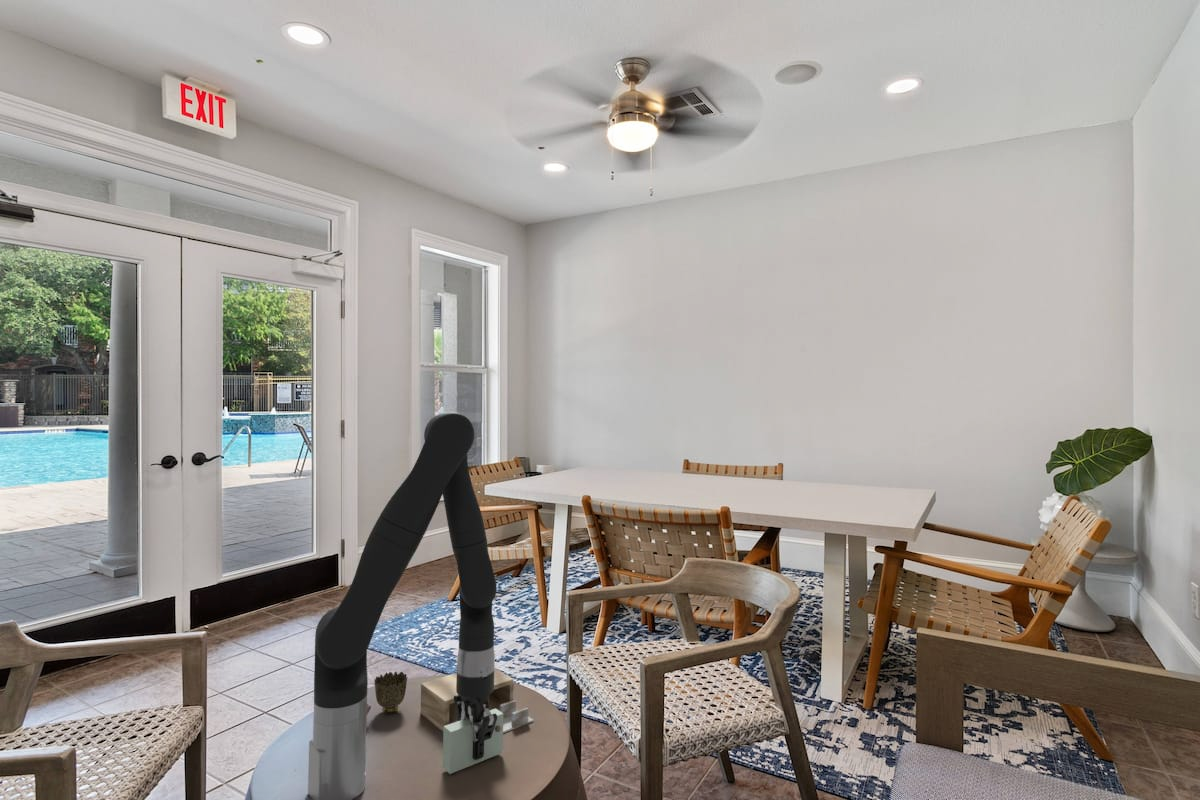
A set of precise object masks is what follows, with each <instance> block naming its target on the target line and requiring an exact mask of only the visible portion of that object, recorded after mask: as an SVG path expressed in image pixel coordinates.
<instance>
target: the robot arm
mask: <svg viewBox="0 0 1200 800" xmlns="http://www.w3.org/2000/svg"><path fill="white" fill-rule="evenodd" d="M473 425H474V424H473V423H472V421H470V419H469V418H468V417H467V416H465V415H464V414H462V413H459V412H453V411H451V412H449V411H448V412H442V413H440V414H439V413H438V414H437V415H435V416H433V417H432V418H431V419H430V420H429V421H428V423H427V424H426V426H425V429H424V435H423V437H424V438H423V439H424V444H423V446H422V447H421V450H420V453H419V455H418V457H417V459H416V461H415V463H414V465H413V467H412V469H411V471H410V472H409V473H408V475H407V477H406V478H405V479H404V481H403V482H402V483H401V484H400V486H399V487H398V488H397V489H396V491H395V492H394V493H393V494H392V496H391V497H390V499H389V500H388V502H387V503H386V505H384V508H383V510H382V511H381V513H380V515H379V516H378V518H377V520H376V521H375V524H374V525H373V528H372V529H371V531H370V532H369V536H368V538H367V539H366V542H365V545H364V547H363V551H362V553H361V556H360V558H359V562H358V565H357V568H356V571H355V574H354V577H353V579H352V582H351V583H350V586H349V589H348V590H347V592H346V594H345V596H344V597H343V599H342V601H341V602H340V604H339V606H337V607H333V608H332V609H330V610H328V611H327V612H326V613H325V614H324V615H323V616H321V618H320V619H319V621H318V623H317V625H316V628H315V638H314V671H313V672H314V674H313V677H314V678H313V681H314V682H313V685H314V686H313V723H312V724H313V729H312V739H311V740H309V741H308V770H307V771H308V773H307V776H308V777H307V794H308V795H309V797H310V798H311V800H354V799H355V798H358V797H359V796H360V795H361V794H363V792H364V790H365V788H366V775H367V774H366V769H367V768H366V767H367V762H366V761H367V728H368V727H367V723H368V722H367V717H368V714H367V704H368V684H369V683H368V658H367V657H368V656H367V655H368V648H369V646H370V643H371V642H372V638H373V636H374V634H375V631H376V628H377V626H378V623H379V622H380V619H381V616H382V614H383V612H384V609H385V607H386V604H387V602H388V600H389V598H390V596H391V594H392V593H393V591H394V590H395V588H396V587H397V585H398V584H399V581H400V580H401V578H402V576H403V575H404V573H405V571H406V570H407V568H408V566H409V563H410V562H411V560H412V558H413V557H414V555H415V554H416V551H417V550H418V547H419V546H420V543H421V542H422V540H423V538H424V536H425V534H426V532H427V530H428V528H429V526H430V523H431V521H432V519H433V517H434V515H435V512H436V510H437V508H438V506H439V503H440V501H441V499H442V498H443V503H444V509H445V515H446V520H447V521H446V523H447V528H448V532H449V537H450V543H451V549H452V551H453V555H454V558H455V560H456V564H457V565H456V567H457V573H458V580H459V587H458V589H459V611H460V615H459V616H460V619H459V628H458V629H459V631H458V634H459V635H458V651H457V657H456V673H457V683H456V691H457V694H458V695H455V696H454V703H455V710H456V716H457V721H460V720H466V718H468V719H470V725H471V729H473V759H474V760H478V759H480V758H482V757H483V756H484V741H485V740H487V739H491V737H492V734H493V730H494V727H495V724H496V721H497V715H496V713H495V714H491V712H490V711H489V707H490V706H489V700H488V697H489V695H490V694H491V693H492V692H493V690H494V668H495V666H496V665H495V660H496V657H495V656H496V655H495V645H494V643H495V641H494V640H495V622H494V618H493V617H494V616H493V601H494V599H495V598H496V596H497V591H498V589H497V580H496V577H495V572H494V569H493V565H492V562H491V558H490V554H489V546H488V539H487V533H486V529H485V528H486V527H485V523H484V520H483V516H482V510H481V508H480V504H479V501H478V498H477V496H476V493H475V490H474V487H473V484H472V480H471V474H470V470H469V462H468V453H469V451H470V450H471V448H472V446H473V444H474V440H475V429H474V426H473ZM442 496H443V497H442ZM461 713H462V714H461ZM479 721H481V722H480V723H477V724H475V722H479ZM479 728H480V731H479V734H478V729H479Z"/></svg>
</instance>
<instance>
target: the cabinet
mask: <svg viewBox="0 0 1200 800" xmlns="http://www.w3.org/2000/svg"><path fill="white" fill-rule="evenodd" d="M514 682H515V679H514V678H512V677H511V676H509V675H507V674H506V673H504V672H502V671H501V670H498V669H497V668H495V667H494V690H493V692H492V693H491V694H490V695H489V697H488V700H489V706H490V707H489V711H490V710H492V709H495V708H496V709H497V710H499V711H500V712H502V713H503V734H506V733H508V732H510V731H513V730H517V729H518V728H522V727H525V726H526V725H529V724H532V723H534V719H533V718H531V717H530V716H529V708H528V707H524V708H521V709H518V708H517V700H515V699H514V685H515V684H514ZM456 683H457V672H455V673H452V674H449V675H446V676H442V677H438V678H434V679H432V680H428V681H425V682H422V683H420V715H422V716H423V717H424V718H425V719H427V720H428V721H429V722H430V723H432V725H434V726H435V727H436V728H437V729H439V730H440V731H441V732H443V730H444V726H446V725H448V724H451V723H454V722H457V716H456V710H455V703H454V696H455V695H458V694H457V691H456ZM461 714H462V713H461Z"/></svg>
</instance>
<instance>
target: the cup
mask: <svg viewBox="0 0 1200 800" xmlns="http://www.w3.org/2000/svg"><path fill="white" fill-rule="evenodd" d="M407 682H408V676H407V673H404V672H403V671H401V672H399V673H398V672H397V671H394V673H393V672H385V674H384V675H382V674H380V676H375V678H374V687H375V688H374V690H375V692H374V693H375V698H376V702H377V704H378V705H379V706H380V707H382V708H381V710H382V712H383V714H386V715H392V714H395V713H396V712H398V710H399V708H400V706H399V705H400V704H402V702H403V701H404V698H405V696H406V691H407V690H406V689H407V685H408V684H407Z"/></svg>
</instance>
